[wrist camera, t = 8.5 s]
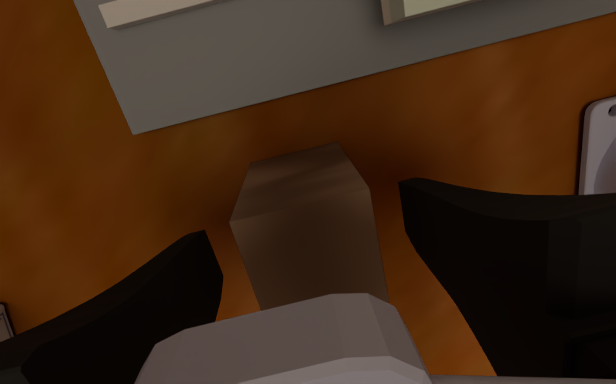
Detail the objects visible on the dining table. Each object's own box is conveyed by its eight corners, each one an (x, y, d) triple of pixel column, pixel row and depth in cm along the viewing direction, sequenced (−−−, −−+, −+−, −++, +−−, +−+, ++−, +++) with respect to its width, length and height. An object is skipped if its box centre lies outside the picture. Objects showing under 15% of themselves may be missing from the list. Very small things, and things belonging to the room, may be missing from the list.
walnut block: (337, 141, 15) (369, 188, 9) (352, 219, 16) (389, 301, 10) (250, 162, 15) (228, 222, 9) (274, 238, 16) (268, 330, 11)
